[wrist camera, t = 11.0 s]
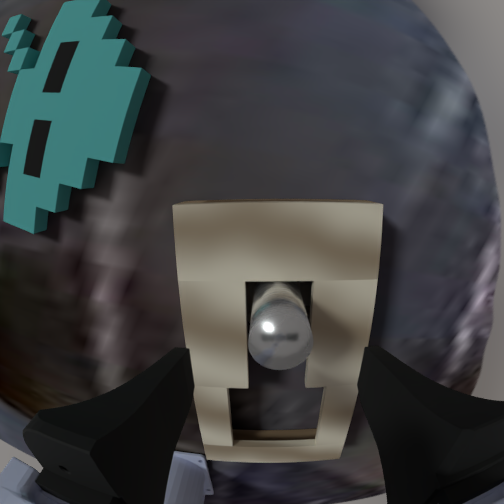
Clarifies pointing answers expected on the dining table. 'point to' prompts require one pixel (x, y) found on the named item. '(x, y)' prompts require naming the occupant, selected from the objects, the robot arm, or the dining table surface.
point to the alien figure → (66, 109)
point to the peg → (279, 322)
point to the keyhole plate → (276, 269)
